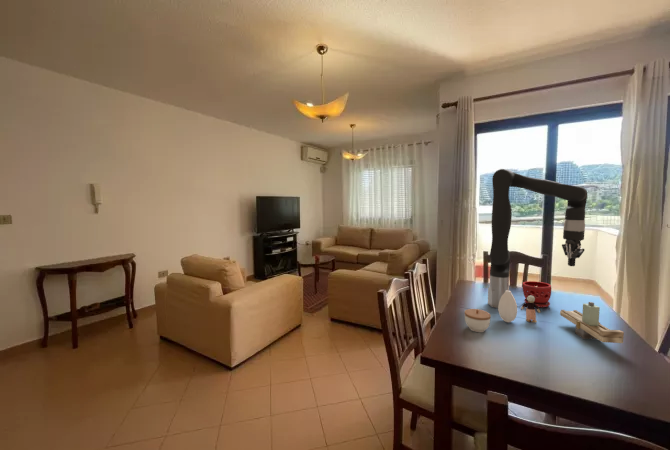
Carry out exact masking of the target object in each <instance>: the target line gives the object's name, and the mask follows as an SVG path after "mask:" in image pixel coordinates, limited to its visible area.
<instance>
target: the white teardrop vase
mask: <svg viewBox="0 0 670 450" xmlns="http://www.w3.org/2000/svg"><path fill="white" fill-rule="evenodd" d="M497 310H498V314H499V317H500V318H501V320H503V321H504V322H505V323H512V322H513V321H514V320H516V318H517V315H518V305H517V301H516V299H515V297H514V295H513V293H512V291H511V290H510V285H509V286H508V290H506V291H505V293H504V294H503V295H502V297H501V299H500V301H499V306H498V308H497Z"/></svg>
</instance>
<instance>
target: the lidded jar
mask: <svg viewBox="0 0 670 450" xmlns="http://www.w3.org/2000/svg"><path fill="white" fill-rule="evenodd" d="M491 318H492V317H491V313H489V312H488V311H486V310H483V309H479V308H468V309H465V310H464V322H465V323H466V325H467V327H468V328H469V330H471V331H473V332H476V333H484V332H485V331H487V329H489V326H490V323H491Z"/></svg>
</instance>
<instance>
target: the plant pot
mask: <svg viewBox="0 0 670 450" xmlns="http://www.w3.org/2000/svg"><path fill="white" fill-rule="evenodd" d="M522 292H523V296H524V303H529V302H528V300H527V297H528V296H534V297H535V301H534V302H533V303H534V304H536V305H537V306H538V308H548V307H549V306H550V305H551V303H550V298H551V296H552V285H551V284H550V283H547V282H541V281H534V280H533V281H531V280H530V281H523V282H522Z"/></svg>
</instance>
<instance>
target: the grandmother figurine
mask: <svg viewBox="0 0 670 450" xmlns="http://www.w3.org/2000/svg"><path fill="white" fill-rule="evenodd" d="M527 300H528V302H529V303H525V302H524V303H523V304H522V305H521V307H520V309H521V310H524V309H526V310H525V321H526V322H528V323H529V322H531V323H538V321H537V319H536V317H537V313H540V314H541V310H540V307H538V306H537V305H536V304H534V303H533V302H534V301H535V297H534V296H528V297H527ZM536 311H537V313H536Z"/></svg>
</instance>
